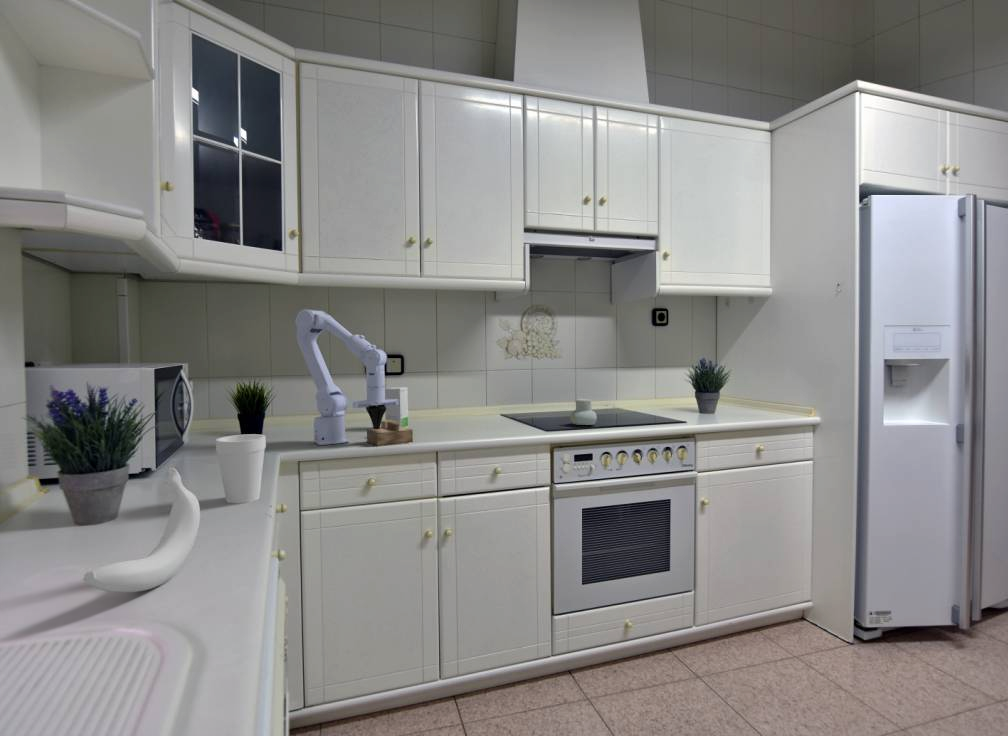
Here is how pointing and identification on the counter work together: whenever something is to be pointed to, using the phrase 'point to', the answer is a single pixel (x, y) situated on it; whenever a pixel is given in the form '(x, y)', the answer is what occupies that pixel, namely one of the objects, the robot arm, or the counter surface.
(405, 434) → the brown wooden block
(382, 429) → the lid
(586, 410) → the air freshener
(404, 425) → the skincare box
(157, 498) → the counter surface
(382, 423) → the brown patterned block
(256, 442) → the foam cup
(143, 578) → the banana
